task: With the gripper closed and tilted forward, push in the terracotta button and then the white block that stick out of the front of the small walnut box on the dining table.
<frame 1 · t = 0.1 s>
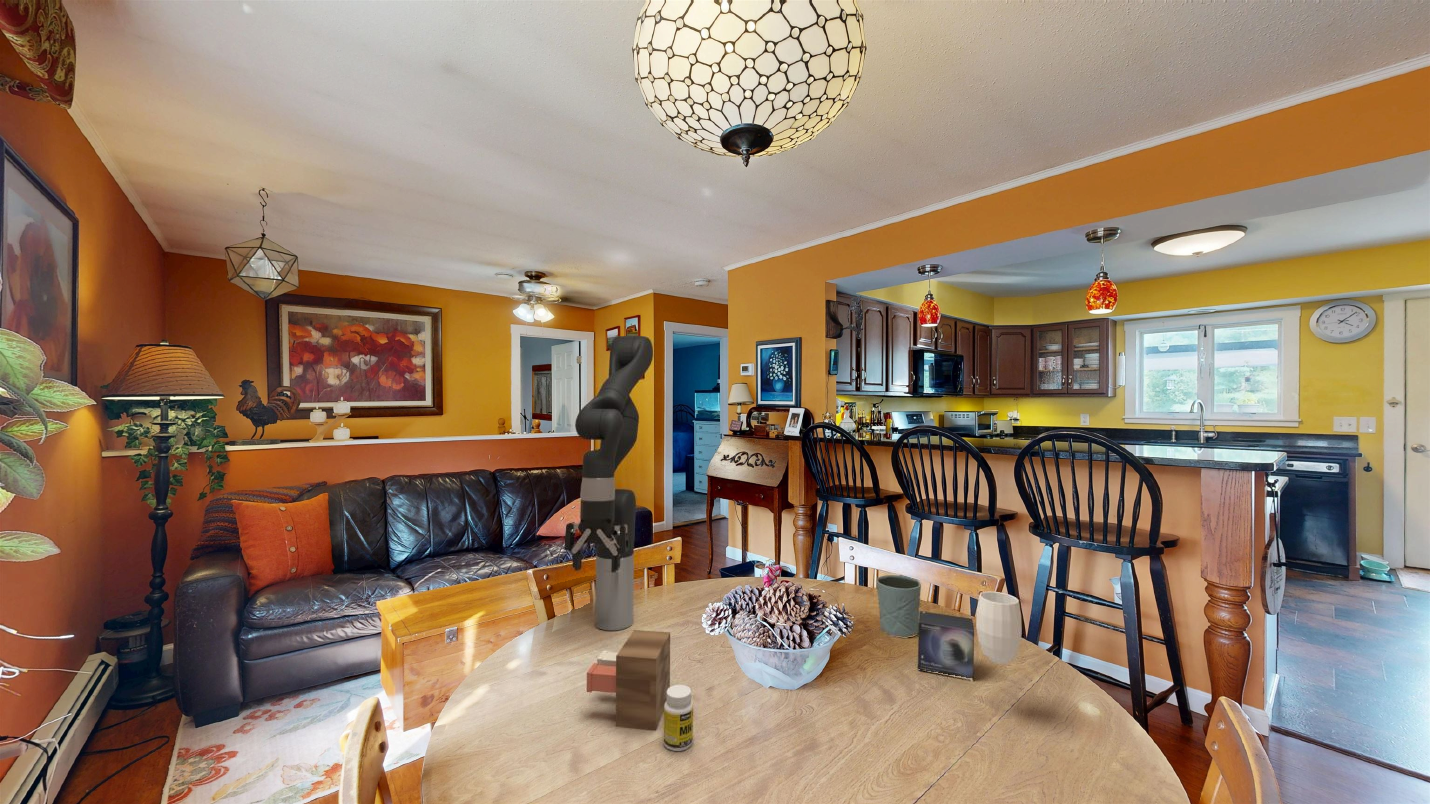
hand: (596, 570, 119), 17 cm above the table, tool pointing down, fingers open, 8 cm apart
walnut box: (625, 708, 96), on the table
green embossed pot: (897, 631, 130), on the table
supplement bottle: (678, 743, 87), on the table
red button: (611, 679, 94), point 7 cm above the table, slide at 0.0 cm
white block: (620, 665, 99), point 7 cm above the table, slide at 0.0 cm
small box: (944, 670, 111), on the table
cup: (997, 714, 96), on the table
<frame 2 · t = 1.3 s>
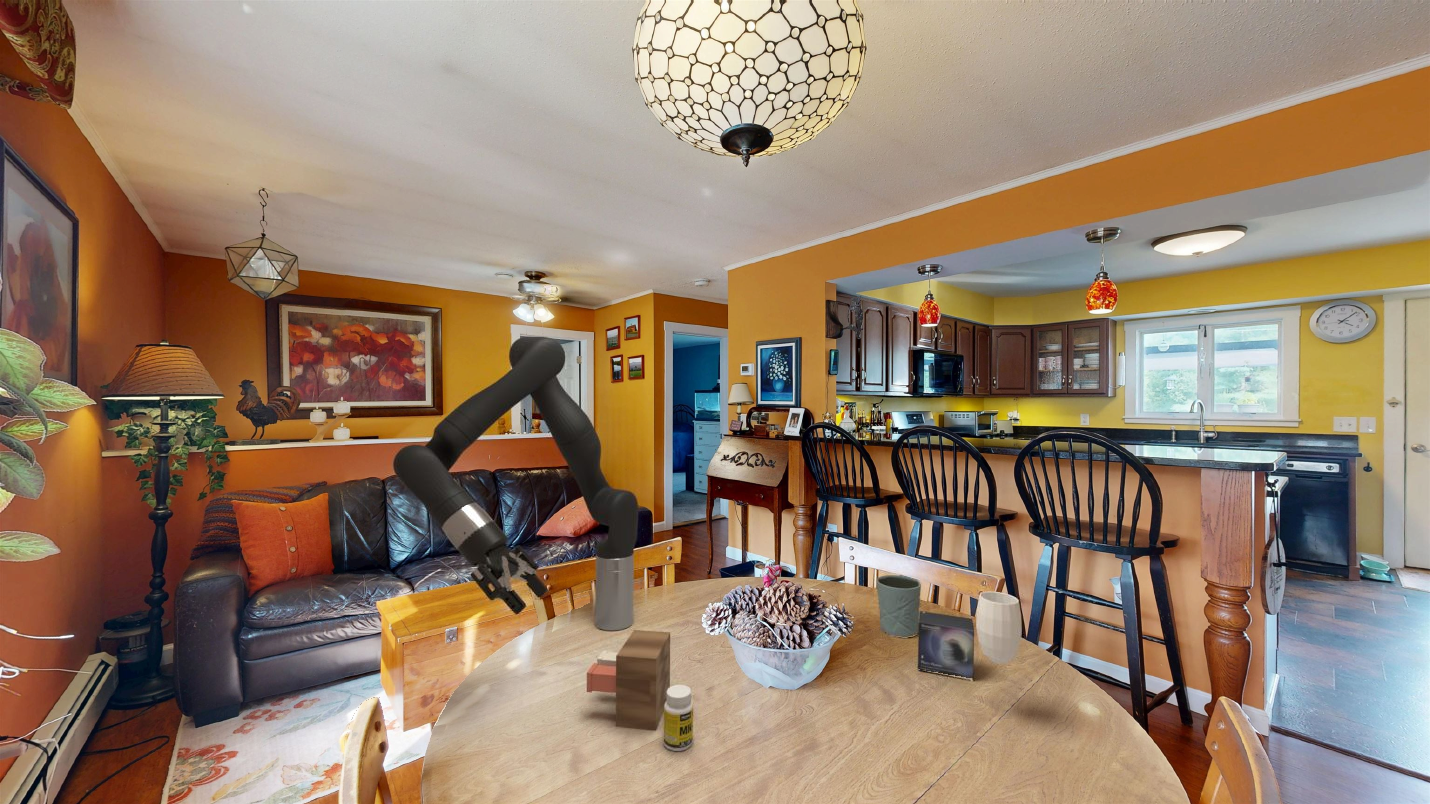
hand: (533, 601, 96), 19 cm above the table, tool tilted 45°, fingers open, 8 cm apart
nothing on the table moved.
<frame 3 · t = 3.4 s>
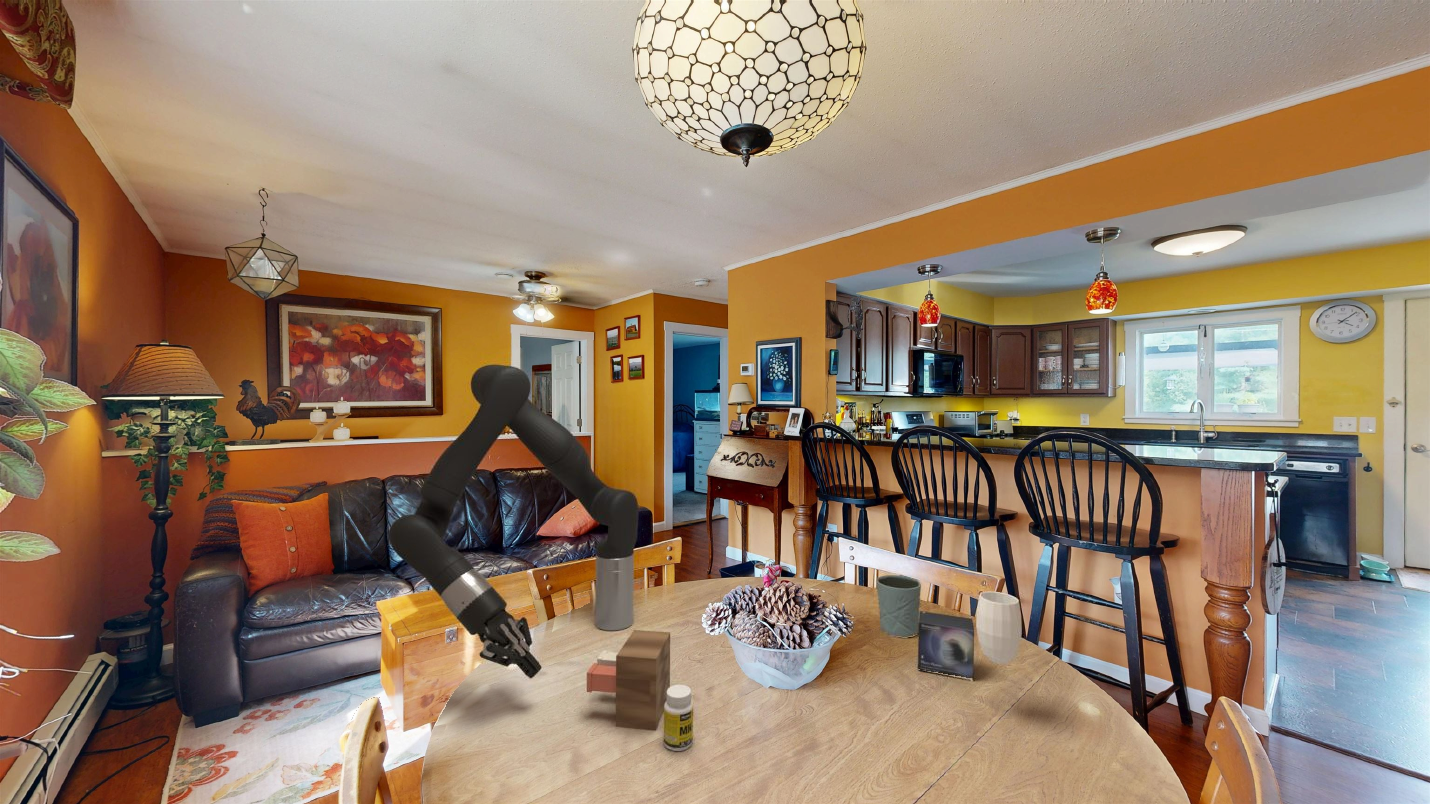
hand: (536, 673, 96), 6 cm above the table, tool tilted 45°, fingers closed
nothing on the table moved.
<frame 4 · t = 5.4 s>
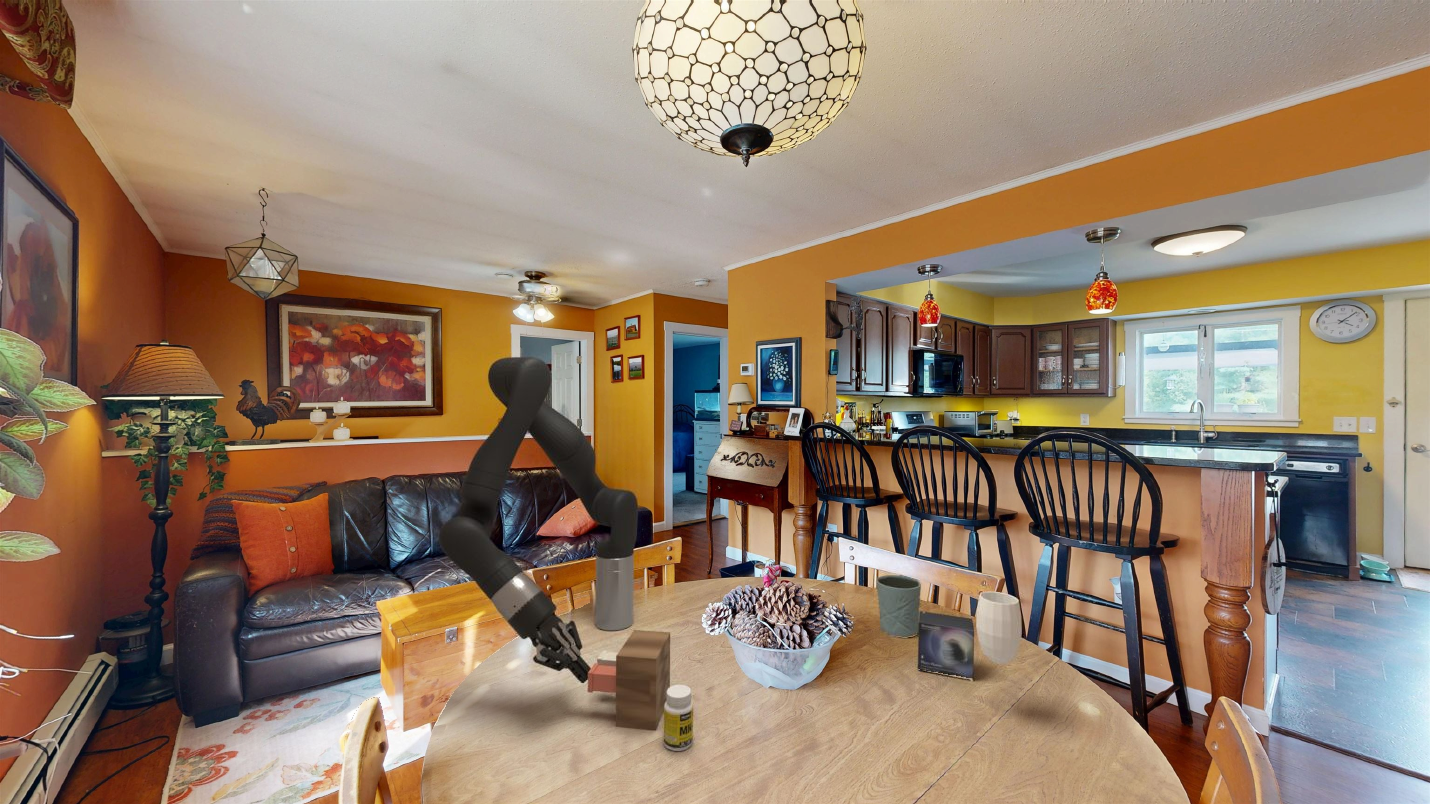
hand: (588, 677, 95), 6 cm above the table, tool tilted 45°, fingers closed
red button: (612, 679, 94), point 7 cm above the table, slide at 0.2 cm, touching gripper
everything else where it was.
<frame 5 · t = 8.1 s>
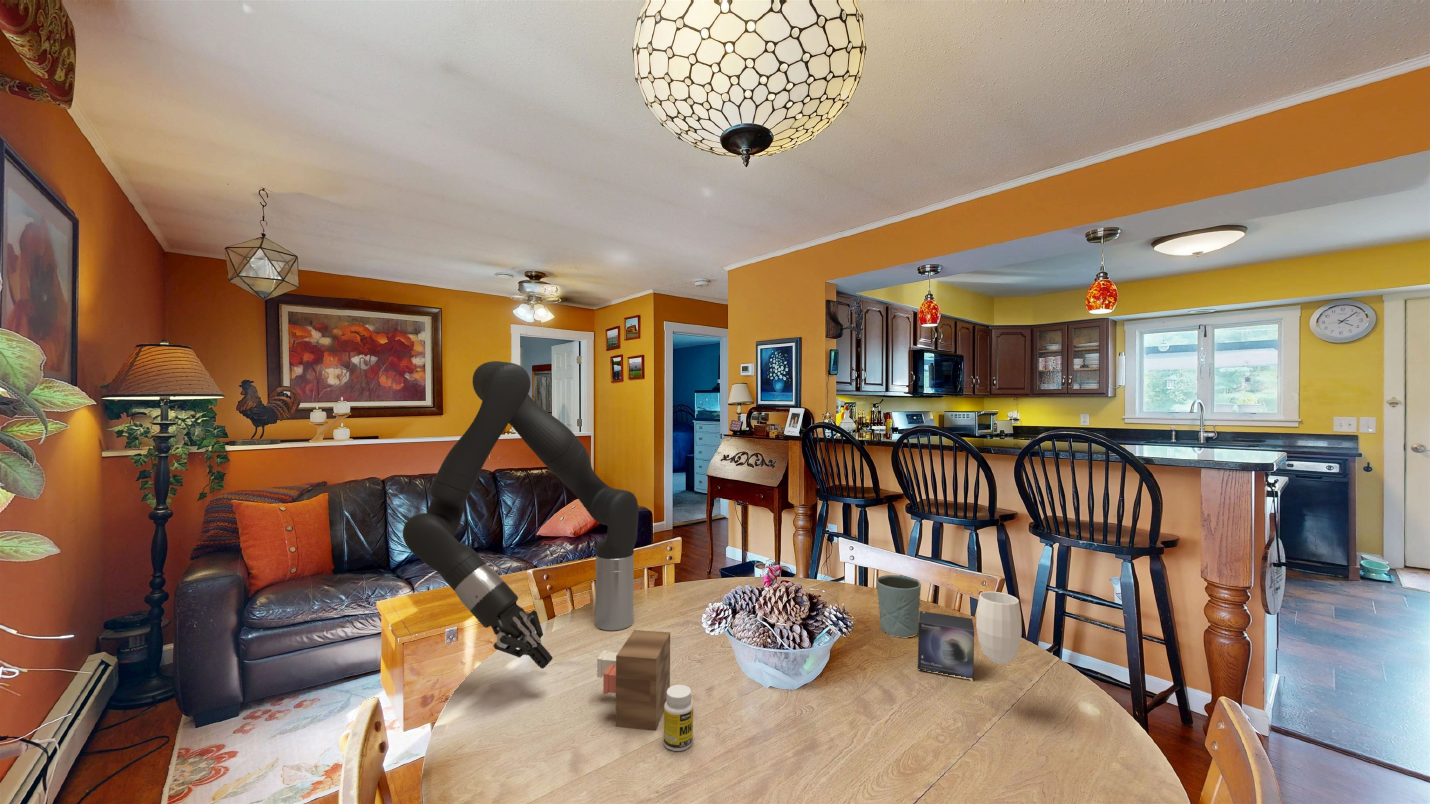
hand: (547, 663, 100), 6 cm above the table, tool tilted 45°, fingers closed
red button: (627, 680, 94), point 7 cm above the table, slide at 3.0 cm
everything else where it was.
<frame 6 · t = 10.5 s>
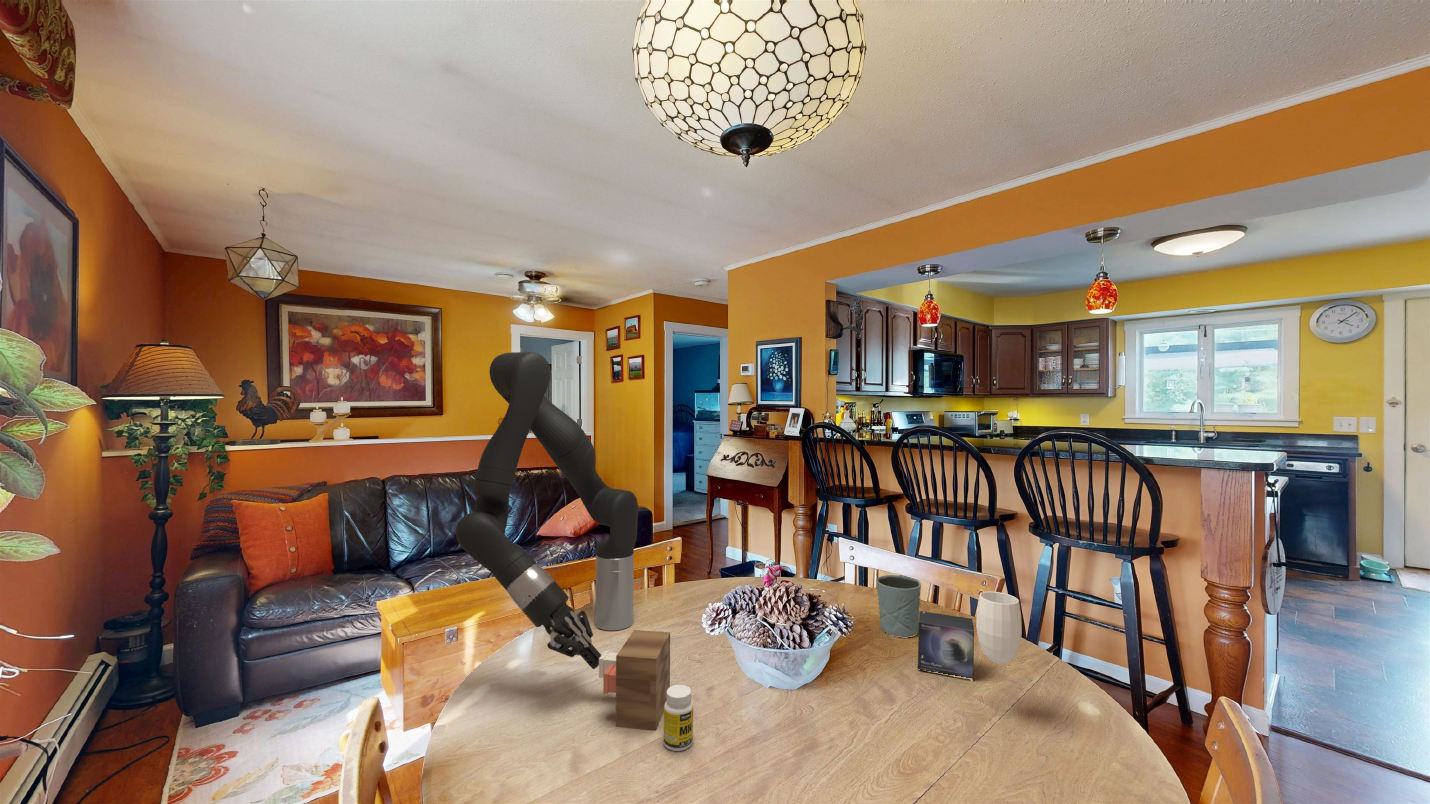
hand: (599, 664, 100), 6 cm above the table, tool tilted 45°, fingers closed
white block: (621, 665, 99), point 7 cm above the table, slide at 0.3 cm, touching gripper
everything else where it was.
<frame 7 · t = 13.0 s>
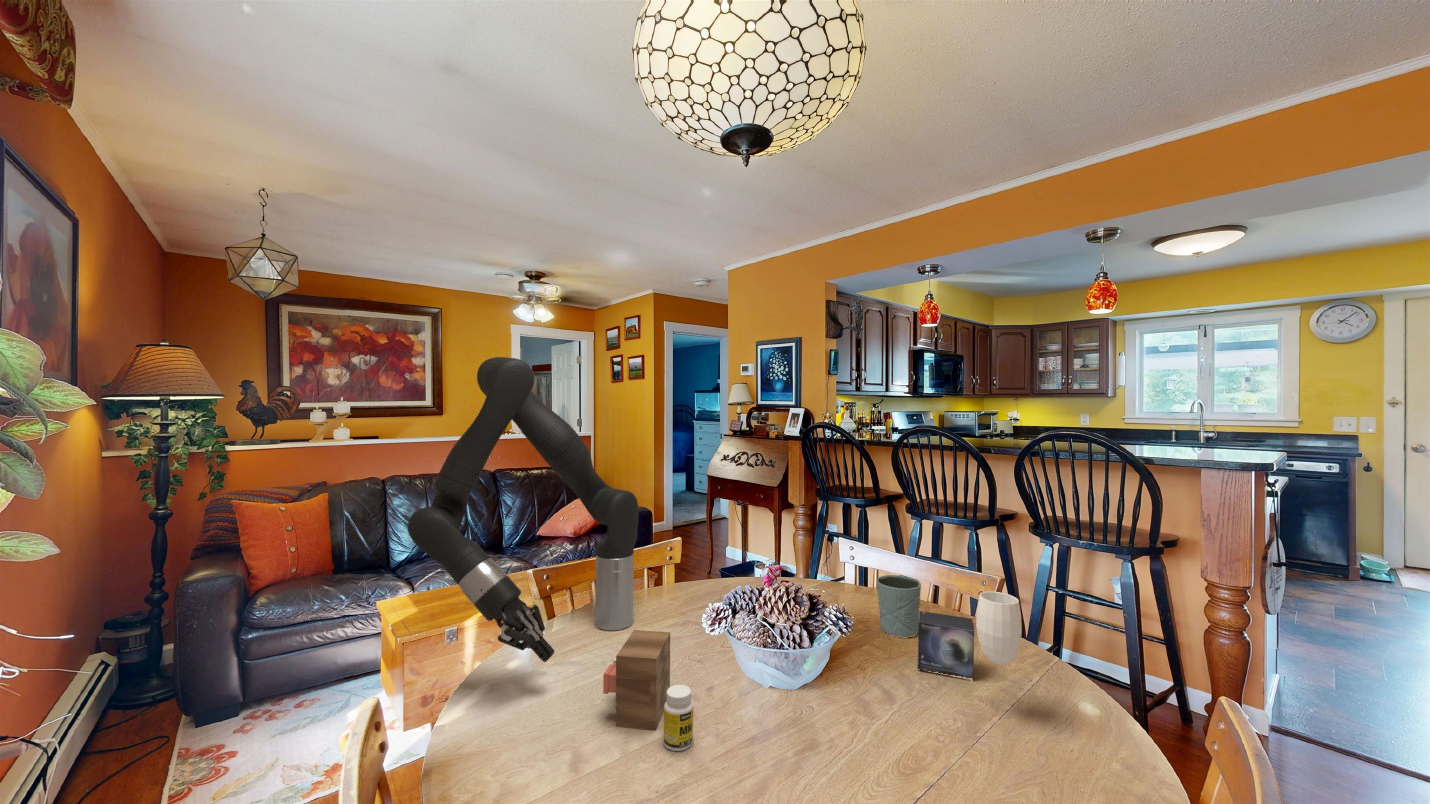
hand: (550, 657, 101), 7 cm above the table, tool tilted 45°, fingers closed
white block: (636, 666, 98), point 7 cm above the table, slide at 3.0 cm
everything else where it was.
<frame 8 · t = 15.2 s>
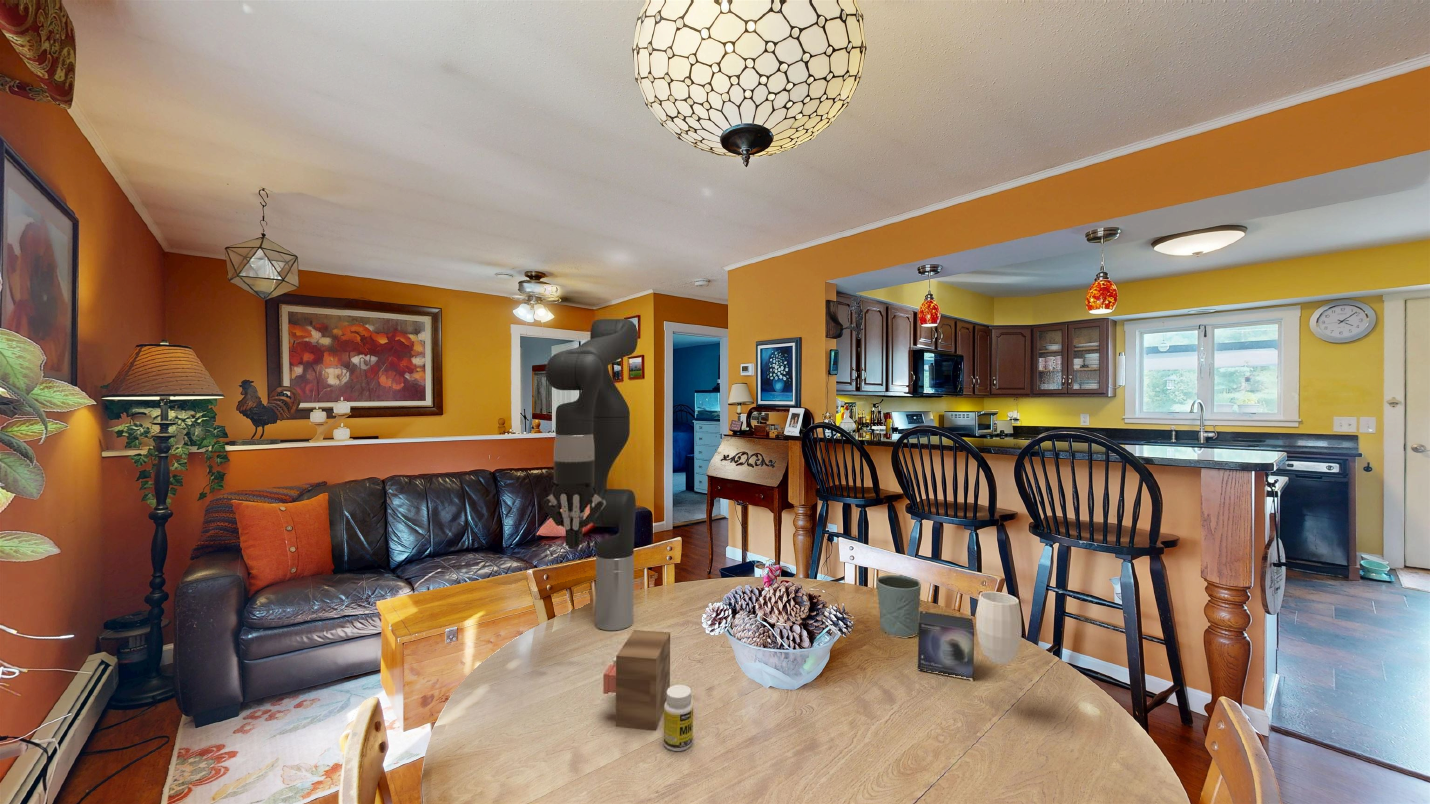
hand: (573, 548, 103), 27 cm above the table, tool pointing down, fingers closed
nothing on the table moved.
at the end: red button slide at 3.0 cm; white block slide at 3.0 cm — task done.
